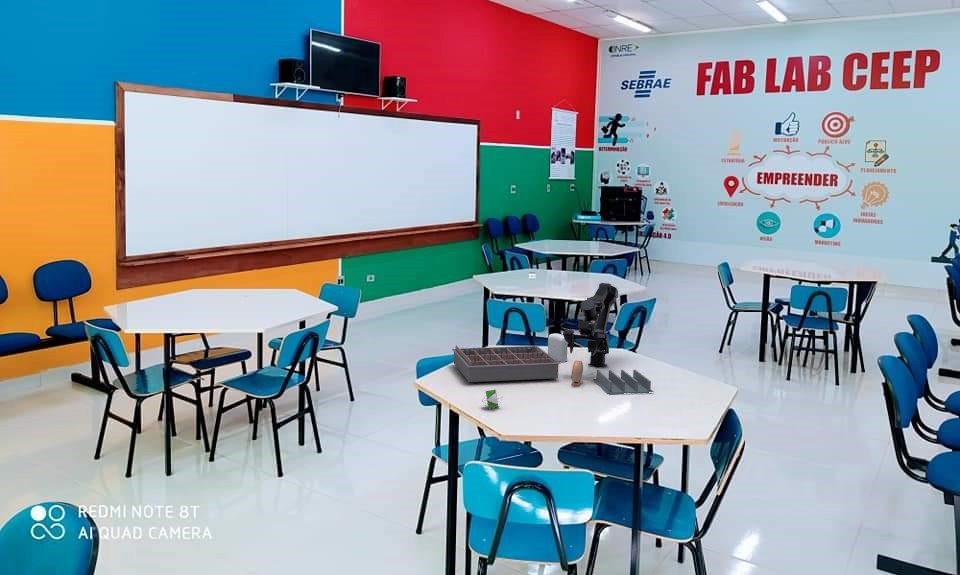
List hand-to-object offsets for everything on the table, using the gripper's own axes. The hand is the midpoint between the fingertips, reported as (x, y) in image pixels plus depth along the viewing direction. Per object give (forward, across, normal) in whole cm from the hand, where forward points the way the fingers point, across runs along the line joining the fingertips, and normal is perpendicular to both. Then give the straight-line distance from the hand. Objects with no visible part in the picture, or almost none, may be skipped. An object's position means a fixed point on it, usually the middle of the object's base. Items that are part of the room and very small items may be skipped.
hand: (581, 354), depth 317 cm
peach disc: (+12, 0, +5) cm, 13 cm away
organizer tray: (+11, -33, +6) cm, 35 cm away
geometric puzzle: (+44, -20, -27) cm, 55 cm away
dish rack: (+8, +18, +8) cm, 21 cm away
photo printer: (-13, -20, +30) cm, 38 cm away
